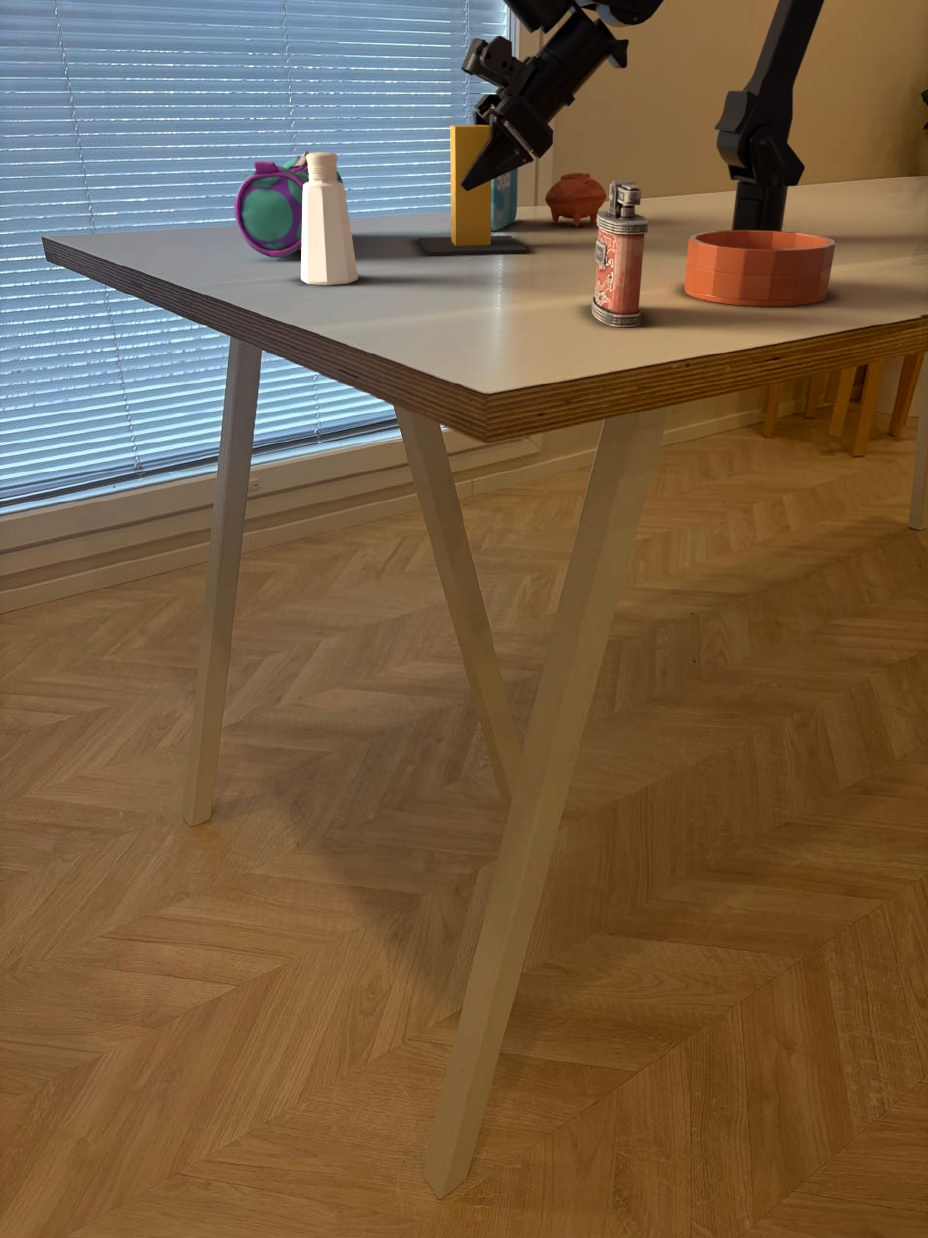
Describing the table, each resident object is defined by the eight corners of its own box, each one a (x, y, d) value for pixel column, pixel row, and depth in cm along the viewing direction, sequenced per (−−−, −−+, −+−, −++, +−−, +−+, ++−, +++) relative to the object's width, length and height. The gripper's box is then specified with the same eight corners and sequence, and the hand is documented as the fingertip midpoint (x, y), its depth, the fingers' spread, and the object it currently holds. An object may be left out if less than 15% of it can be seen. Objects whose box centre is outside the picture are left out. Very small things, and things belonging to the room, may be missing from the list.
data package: (494, 232, 123) (496, 124, 118) (460, 231, 125) (459, 124, 119) (517, 220, 134) (519, 121, 128) (484, 219, 135) (485, 120, 129)
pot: (615, 224, 127) (606, 168, 124) (555, 240, 128) (545, 185, 124) (605, 214, 134) (596, 161, 130) (548, 230, 135) (538, 177, 131)
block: (485, 240, 115) (486, 124, 109) (490, 245, 111) (491, 126, 106) (451, 240, 114) (450, 124, 109) (455, 246, 111) (454, 126, 105)
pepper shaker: (326, 287, 91) (317, 155, 86) (289, 280, 95) (278, 153, 89) (369, 279, 95) (364, 152, 90) (332, 273, 98) (325, 150, 93)
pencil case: (276, 234, 123) (268, 148, 118) (347, 234, 122) (342, 148, 118) (236, 261, 104) (225, 161, 100) (319, 261, 104) (312, 161, 99)
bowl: (719, 275, 96) (725, 226, 94) (845, 289, 89) (854, 236, 87) (660, 295, 87) (665, 241, 85) (794, 312, 81) (803, 254, 79)
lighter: (584, 306, 83) (591, 176, 79) (624, 305, 84) (633, 176, 79) (604, 327, 76) (613, 186, 72) (648, 326, 77) (660, 185, 72)
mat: (418, 240, 117) (418, 237, 117) (509, 238, 119) (509, 235, 118) (427, 255, 108) (427, 251, 108) (527, 252, 109) (527, 249, 109)
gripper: (493, 11, 111) (398, 123, 115) (524, 0, 94) (412, 130, 98) (560, 91, 115) (466, 196, 119) (600, 93, 99) (490, 214, 103)
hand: (457, 183), depth 110 cm, fingers open, 9 cm apart
